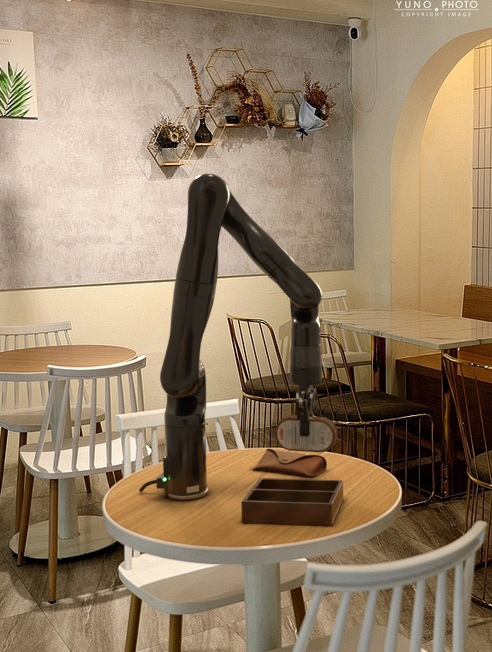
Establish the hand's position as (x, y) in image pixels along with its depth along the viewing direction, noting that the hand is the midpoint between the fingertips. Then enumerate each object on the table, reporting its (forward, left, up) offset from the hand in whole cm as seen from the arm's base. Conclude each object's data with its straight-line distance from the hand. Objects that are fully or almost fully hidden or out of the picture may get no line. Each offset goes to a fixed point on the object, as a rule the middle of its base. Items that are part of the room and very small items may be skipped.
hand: (306, 433), depth 209 cm
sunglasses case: (-7, +14, -14) cm, 21 cm away
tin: (0, 0, -4) cm, 4 cm away
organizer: (0, -16, -13) cm, 21 cm away
